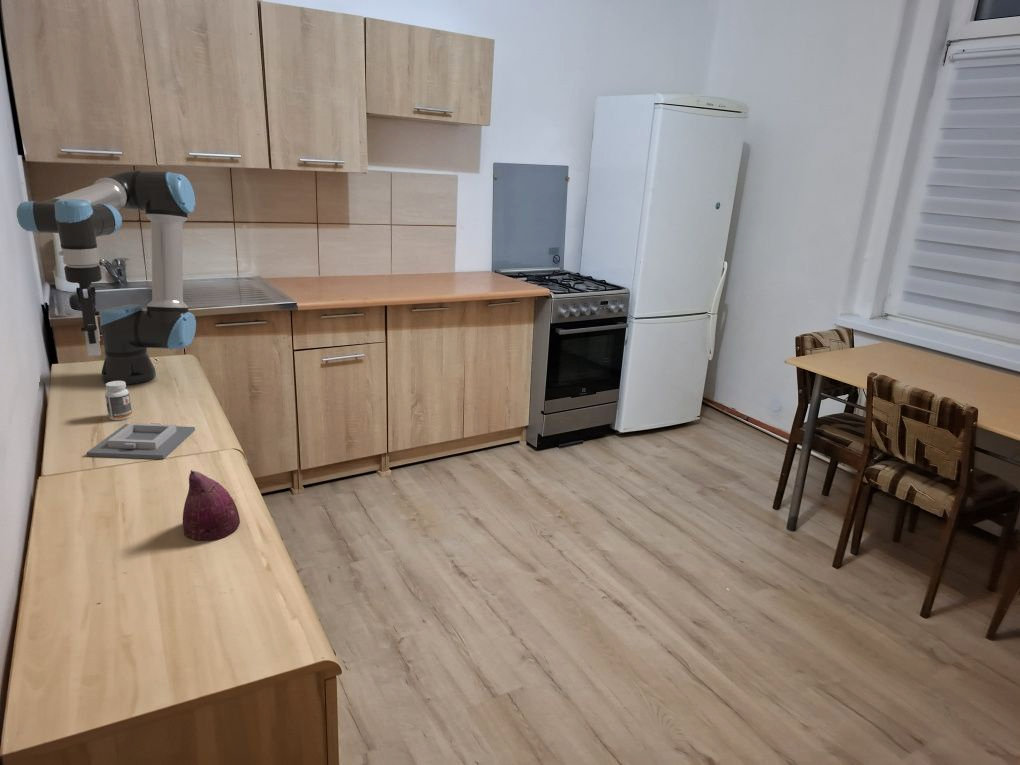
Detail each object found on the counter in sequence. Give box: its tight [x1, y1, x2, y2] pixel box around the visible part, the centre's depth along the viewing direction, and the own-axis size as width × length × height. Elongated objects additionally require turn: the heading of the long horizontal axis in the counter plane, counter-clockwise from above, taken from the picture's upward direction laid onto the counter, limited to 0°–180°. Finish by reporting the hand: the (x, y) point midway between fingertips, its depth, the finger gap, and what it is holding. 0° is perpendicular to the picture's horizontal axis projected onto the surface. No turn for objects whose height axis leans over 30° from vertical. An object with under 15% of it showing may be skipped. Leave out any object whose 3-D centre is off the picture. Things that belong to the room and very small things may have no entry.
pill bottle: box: [104, 381, 133, 421], centre depth 181 cm, size 6×6×10 cm
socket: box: [86, 422, 196, 460], centre depth 167 cm, size 18×18×3 cm
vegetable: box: [182, 469, 241, 542], centre depth 129 cm, size 10×10×15 cm
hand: (94, 348), depth 169 cm, fingers open, 13 cm apart
